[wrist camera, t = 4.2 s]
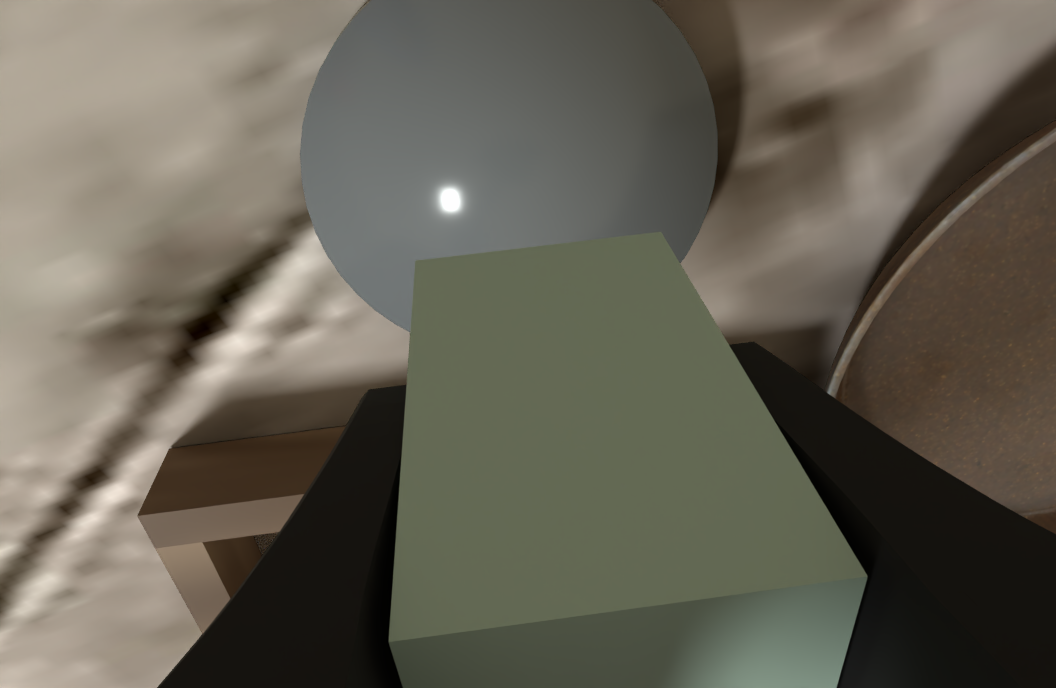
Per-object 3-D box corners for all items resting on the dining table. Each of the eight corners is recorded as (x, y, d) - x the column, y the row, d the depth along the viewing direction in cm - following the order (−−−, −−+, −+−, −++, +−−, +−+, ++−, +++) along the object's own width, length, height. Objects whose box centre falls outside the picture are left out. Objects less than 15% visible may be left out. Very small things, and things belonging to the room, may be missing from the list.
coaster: (695, 310, 19) (706, 331, 18) (356, 353, 19) (352, 375, 18) (715, -81, 14) (732, -77, 13) (255, -31, 14) (243, -25, 13)
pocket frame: (729, 565, 25) (755, 628, 23) (256, 631, 25) (239, 701, 22) (750, 374, 21) (785, 430, 18) (169, 448, 20) (137, 515, 18)
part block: (656, 420, 12) (804, 803, 7) (450, 447, 12) (455, 855, 7) (660, 231, 10) (868, 577, 5) (414, 260, 10) (389, 641, 5)
